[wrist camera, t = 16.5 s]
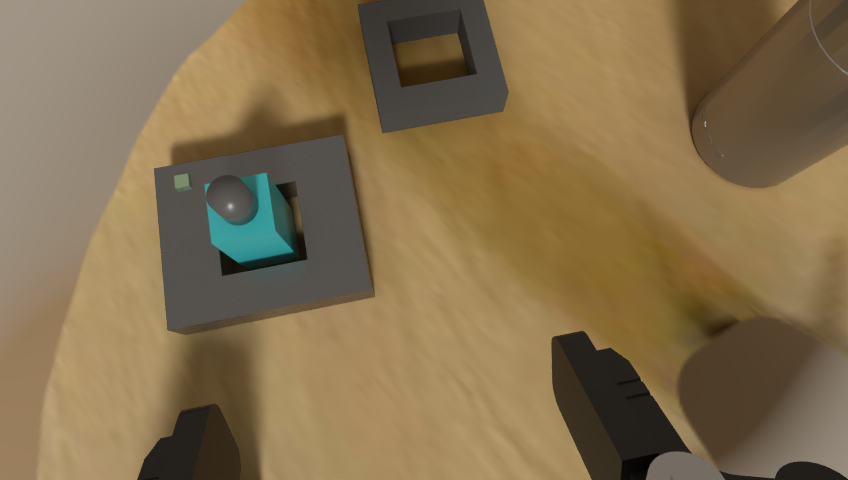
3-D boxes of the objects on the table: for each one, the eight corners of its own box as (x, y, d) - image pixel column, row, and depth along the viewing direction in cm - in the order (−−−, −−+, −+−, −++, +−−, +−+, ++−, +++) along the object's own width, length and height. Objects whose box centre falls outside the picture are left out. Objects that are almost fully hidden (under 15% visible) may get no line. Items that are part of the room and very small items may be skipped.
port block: (347, 151, 44) (342, 132, 41) (374, 296, 41) (371, 289, 38) (171, 183, 44) (152, 166, 40) (185, 334, 40) (165, 329, 37)
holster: (475, 8, 48) (478, -16, 45) (502, 111, 46) (508, 92, 43) (361, 28, 47) (357, 4, 45) (382, 133, 45) (380, 115, 42)
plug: (292, 209, 43) (255, 156, 34) (299, 258, 42) (264, 218, 32) (240, 219, 43) (189, 169, 33) (247, 269, 42) (196, 232, 32)
